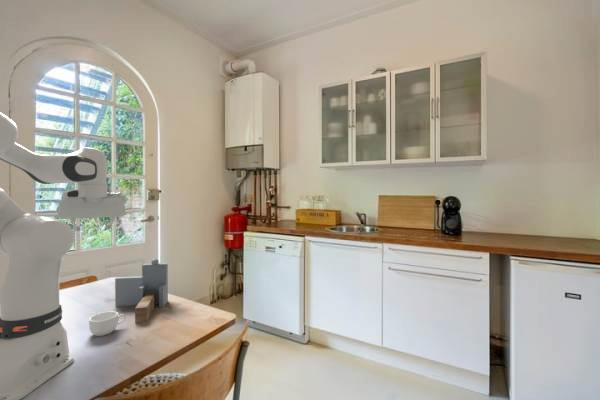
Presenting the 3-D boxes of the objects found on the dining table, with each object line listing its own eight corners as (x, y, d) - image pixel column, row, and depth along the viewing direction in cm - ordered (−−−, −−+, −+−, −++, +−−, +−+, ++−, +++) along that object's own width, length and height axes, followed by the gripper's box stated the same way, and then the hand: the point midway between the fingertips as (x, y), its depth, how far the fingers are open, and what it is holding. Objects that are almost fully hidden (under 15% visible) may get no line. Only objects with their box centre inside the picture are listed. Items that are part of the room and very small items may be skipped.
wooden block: (146, 321, 99) (146, 303, 99) (135, 322, 98) (134, 304, 98) (156, 304, 114) (156, 289, 114) (146, 305, 113) (146, 290, 113)
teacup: (91, 341, 85) (91, 323, 85) (86, 332, 91) (86, 316, 91) (128, 330, 93) (128, 314, 92) (122, 322, 98) (122, 307, 98)
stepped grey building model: (163, 307, 111) (162, 261, 111) (110, 310, 108) (109, 263, 108) (168, 301, 118) (167, 257, 117) (118, 303, 114) (117, 259, 114)
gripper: (124, 192, 114) (124, 227, 114) (57, 192, 101) (58, 231, 101) (127, 192, 109) (127, 228, 109) (57, 192, 96) (57, 233, 96)
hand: (93, 230), depth 105 cm, fingers open, 8 cm apart
